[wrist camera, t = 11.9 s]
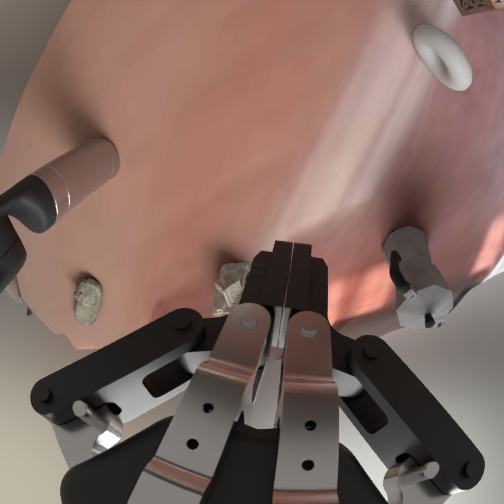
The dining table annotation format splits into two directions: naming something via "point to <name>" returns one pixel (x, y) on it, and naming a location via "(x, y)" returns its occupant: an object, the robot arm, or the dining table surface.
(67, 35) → the dining table surface
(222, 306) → the ceramic cottage
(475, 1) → the tissue box cover
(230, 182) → the dining table surface
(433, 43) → the donut
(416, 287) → the coffeepot
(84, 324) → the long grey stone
